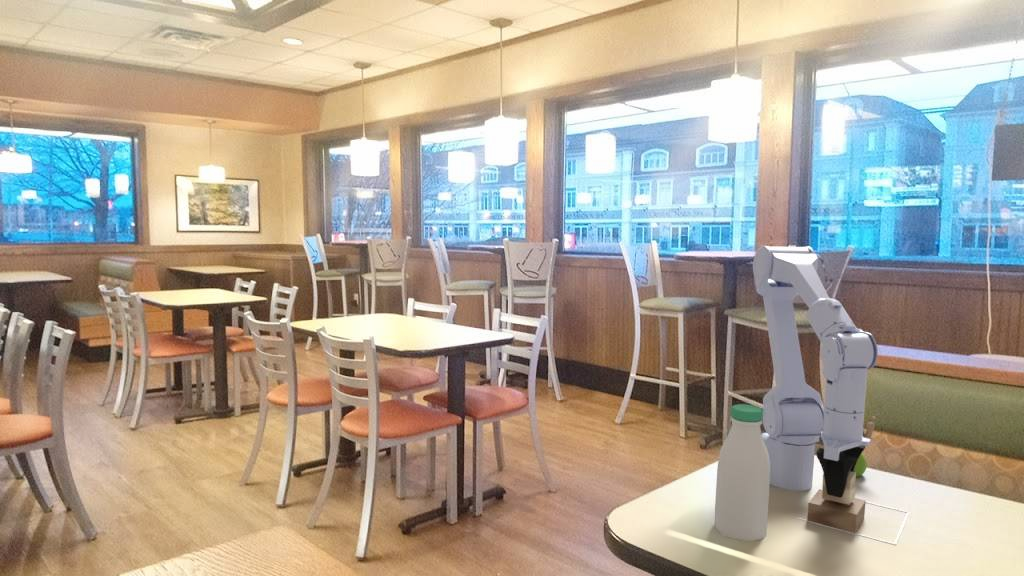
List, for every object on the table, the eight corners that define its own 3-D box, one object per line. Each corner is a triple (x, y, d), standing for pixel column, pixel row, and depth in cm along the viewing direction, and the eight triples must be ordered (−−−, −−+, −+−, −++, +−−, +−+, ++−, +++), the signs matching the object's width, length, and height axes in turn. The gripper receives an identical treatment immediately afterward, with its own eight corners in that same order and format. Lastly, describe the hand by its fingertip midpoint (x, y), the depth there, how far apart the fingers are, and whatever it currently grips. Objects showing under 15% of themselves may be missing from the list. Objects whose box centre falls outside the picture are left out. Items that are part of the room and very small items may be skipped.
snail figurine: (875, 484, 127) (880, 421, 126) (837, 480, 128) (842, 418, 127) (866, 473, 133) (871, 412, 131) (830, 470, 134) (835, 409, 132)
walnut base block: (807, 520, 110) (808, 502, 110) (818, 506, 116) (819, 489, 116) (855, 533, 106) (856, 514, 106) (864, 518, 112) (865, 500, 111)
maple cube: (822, 498, 110) (823, 474, 110) (828, 490, 113) (829, 467, 113) (849, 504, 108) (850, 480, 107) (854, 496, 111) (855, 472, 110)
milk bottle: (776, 543, 104) (784, 414, 102) (728, 546, 103) (735, 415, 101) (750, 520, 112) (757, 399, 109) (705, 523, 110) (711, 401, 108)
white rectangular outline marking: (793, 522, 111) (793, 518, 111) (816, 492, 123) (816, 488, 123) (898, 551, 102) (898, 546, 102) (912, 516, 114) (913, 512, 114)
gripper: (863, 424, 101) (856, 513, 102) (880, 402, 112) (874, 483, 114) (811, 415, 105) (805, 500, 106) (834, 395, 116) (828, 472, 118)
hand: (837, 491), depth 110 cm, fingers closed on maple cube, 4 cm apart
